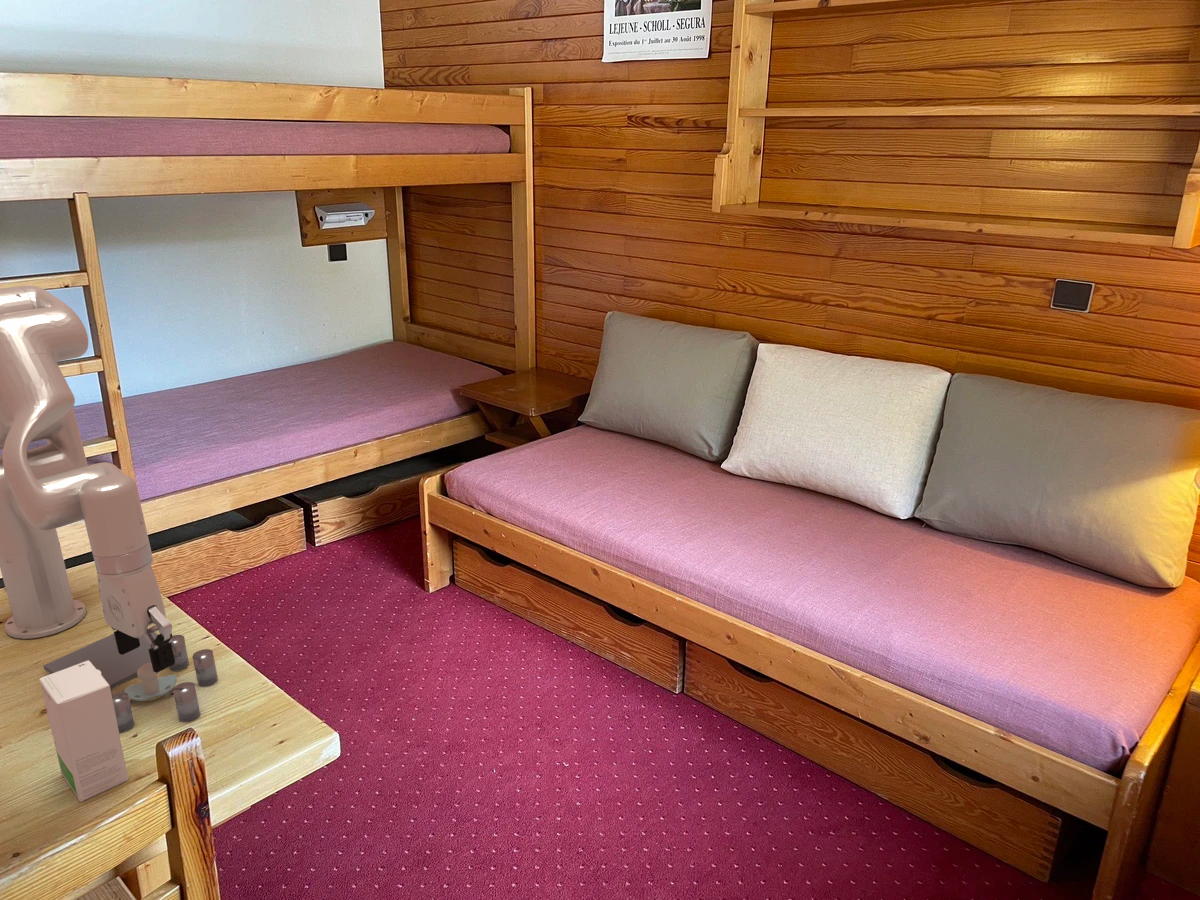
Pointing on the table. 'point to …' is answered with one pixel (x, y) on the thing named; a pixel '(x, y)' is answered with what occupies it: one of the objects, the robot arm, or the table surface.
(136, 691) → the pacifier
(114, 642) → the mat
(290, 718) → the table surface
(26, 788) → the table surface
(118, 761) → the skincare box
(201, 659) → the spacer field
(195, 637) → the table surface
